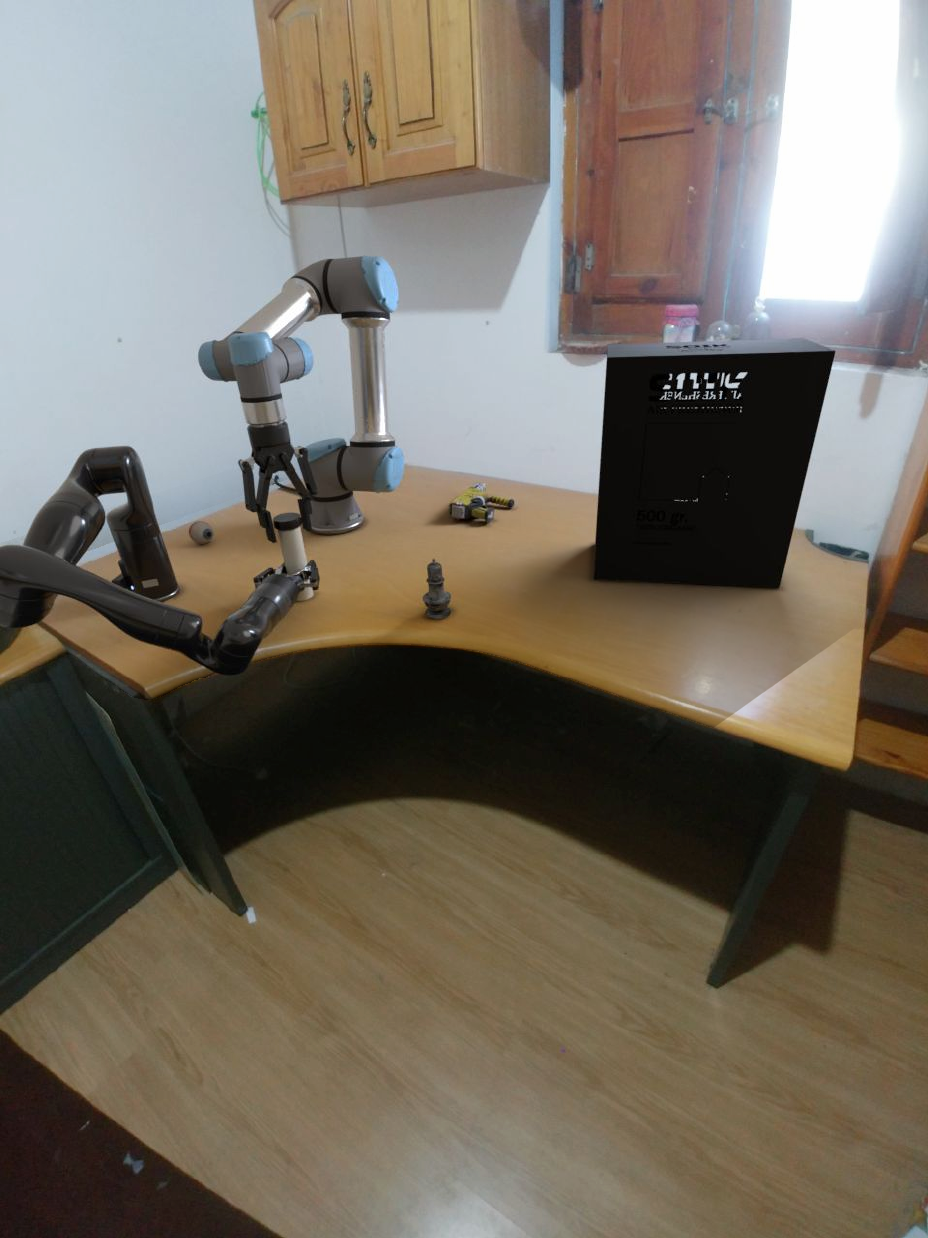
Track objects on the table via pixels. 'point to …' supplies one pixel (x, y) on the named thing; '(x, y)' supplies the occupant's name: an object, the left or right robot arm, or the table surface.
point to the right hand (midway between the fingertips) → (290, 535)
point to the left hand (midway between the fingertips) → (301, 563)
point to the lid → (287, 521)
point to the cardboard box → (706, 459)
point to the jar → (294, 555)
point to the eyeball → (201, 532)
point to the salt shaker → (436, 593)
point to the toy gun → (476, 504)
